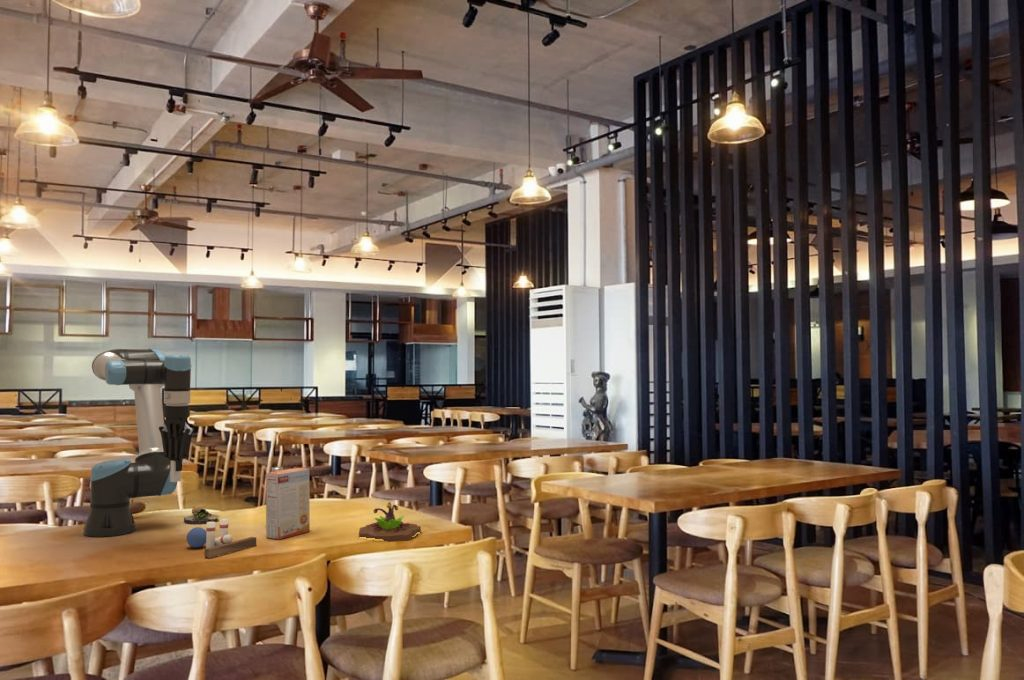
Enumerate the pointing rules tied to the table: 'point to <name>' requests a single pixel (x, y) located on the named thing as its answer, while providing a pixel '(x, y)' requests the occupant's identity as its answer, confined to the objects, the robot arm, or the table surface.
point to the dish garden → (199, 516)
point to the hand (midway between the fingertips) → (175, 481)
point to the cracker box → (287, 503)
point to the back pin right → (210, 535)
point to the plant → (389, 527)
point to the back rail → (230, 547)
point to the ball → (196, 537)
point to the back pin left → (223, 527)
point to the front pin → (223, 540)
